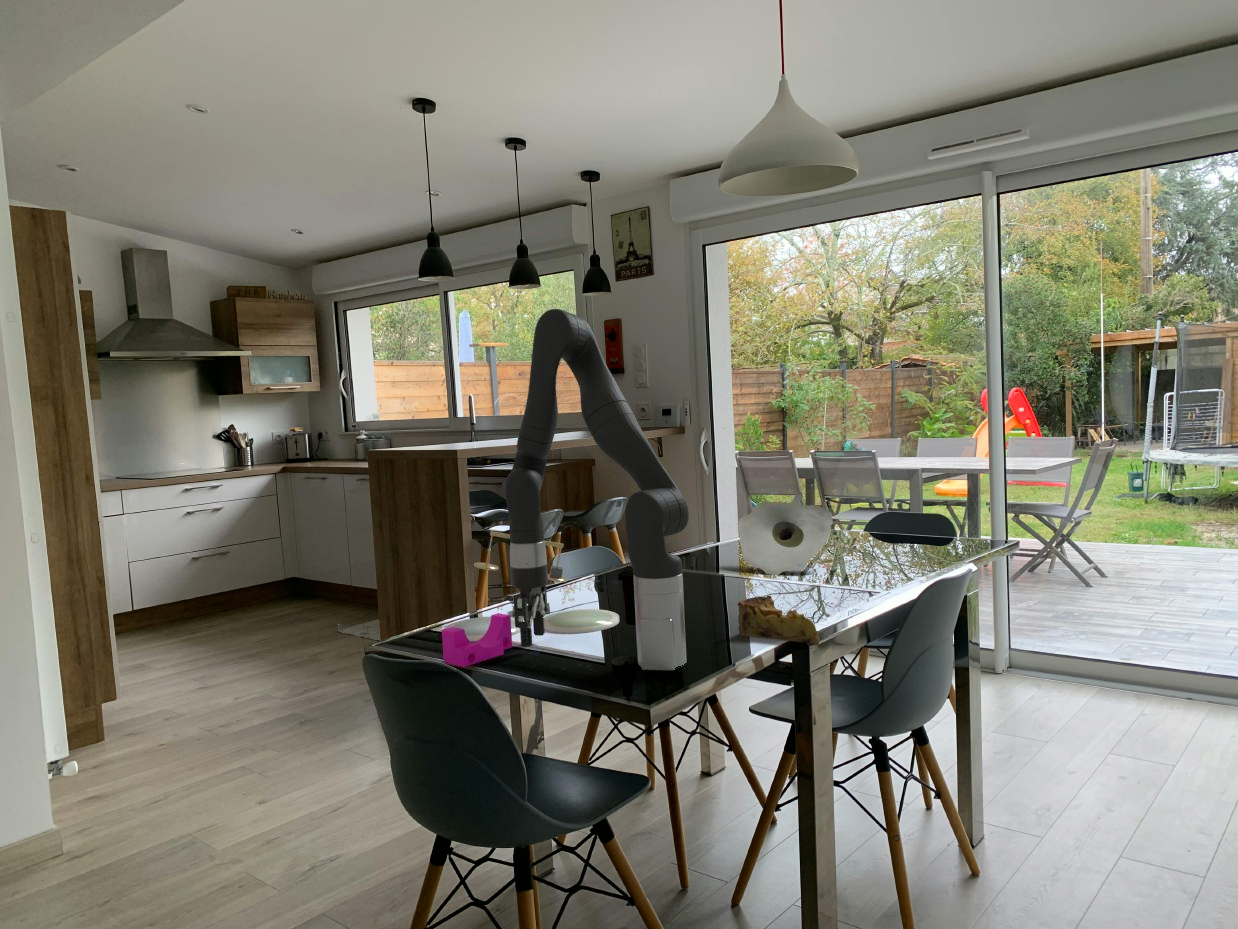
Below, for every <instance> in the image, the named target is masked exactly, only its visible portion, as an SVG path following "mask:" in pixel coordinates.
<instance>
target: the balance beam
mask: <svg viewBox="0 0 1238 929" xmlns="http://www.w3.org/2000/svg"><path fill="white" fill-rule="evenodd" d="M489 536H491V537H490V540H489V546H488V550H487V556H486V562H474V563H473V566H474V568H477V569H480V570H485V571H499V568H500V567H499V566H498V565H496V564H493V563H488V562H489V558H490V552H491V548H492V542H493V537H498V538H502V539H508V540H510V533H505V532H504V533H503V532H497V531H493V530H491V531H490V532H489ZM544 542H545V546H550V547H555V548H559V551H558V556H557V562H556V566H554V565H551V566H550V571H549V573H547V574H548V581H549V582H550V581H551V582H556V583H567V582H568V578H567V577H565V576H563V571H564V569H563V567H561V566H559V564H560V560H561V553H562V549H563V548H564V543H561V542H555V541H549V540H545V539H544Z"/></svg>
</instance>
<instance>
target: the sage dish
mask: <svg viewBox="0 0 1238 929" xmlns="http://www.w3.org/2000/svg"><path fill="white" fill-rule="evenodd" d="M543 618H544V630H545V632H546V631H547V632H550V633H555V634H556V633H557V634H582V633H583V634H585V633H593V632H598V631H599V632H600V631H603V630H608V629H611V628H614V627H615V626H617V625H618V624H619V623H620V615H619V614H618V613H616V612H614V611H610V610H606V609H598V608H597V609H595V608H591V609H590V608H584V609H571V610H570V609H569V610H564V611H559V612H556V613H554V612H553V613H552V614H551V613H550V614H547V615H545V617H543Z"/></svg>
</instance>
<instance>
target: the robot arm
mask: <svg viewBox="0 0 1238 929" xmlns="http://www.w3.org/2000/svg"><path fill="white" fill-rule="evenodd" d="M538 318H539V319H538V321H537V322H536V326H535V328H534V334H533V342H532V353H531V354H532V355H531V363H530V371H529V372H530V373H529V380H528V382H529V383H528V389H527V390H528V391H527V399H526V403H525V404H526V405H525V409H524V413H523V417H522V420H521V425H520V428H519V432H518V436H517V440H516V454H515V457H514V461H513V464H512V469H511V471H510V472H509V474H508V475H507V477H506V479H505V483H504V493H505V499H506V502H505V503H506V507H507V514H508V517H509V524H508V525H509V528H508V529H509V534H510V539H509V541H510V544H509V545H510V546H509V547H510V548H509V562H510V563H509V564H510V580H511V582H510V583H511V586H512V588H515V589H517V590H519V596H518V597H516V598H514V599H513V606H514V615H515V616H514V618H515V627H516V628H520V632H519V633H520V635H519V636H520V645H521V646H522V647H531V646H533V635H534V636H538V637H539V636H544V635H545V632H546V630H544V617H546V614H545V612H547V610H548V608H547V603H548V596H547V585H548V584H549V580H548V574H549V573H548V560H547V559H548V558H547V548H546V545H545V542H544V540H545V530H544V529H545V528H544V520H543V516H542V515H541V501H540V500H541V497H540V494H541V489H542V487H543V482H544V478H545V473H546V469H547V468H546V467H547V462H548V457H549V454H550V452H551V449H552V445H553V441H554V439H555V438H554V437H555V433H556V430H557V425H558V417H559V412H558V408H559V407H558V398H557V397H558V396H557V374H558V369H559V366H560V362H561V360H563V361H564V362H565V363H566V365H567V366H568V367H569V369H570V371H571V372H572V374H573V376H574V378H575V380H576V382H577V384H578V388H579V393H580V395H579V396H580V410H581V414H582V419H583V421H584V423H585V425H586V426H587V429H588V431H589V433H590V435H591V436H592V439H593V440H594V442H595V444H596V445H597V447H598V448H599V449H600V450H601V451H602V452H603V453H604V454H605V455H606V456H608V458H610V459H611V460H612V461H614V462H615V464H617V465H618V466H619V467H621V468H622V469H623V470H624V471H625V472H627V474H629V475H630V476H631V477H632V479H633V480H634V482H635V483H636V485H637V486H638V488H639V491H636V492H634V493H633V494H631V495H630V496H629V498H628V499H627V501H626V504H625V510H624V525H625V535H626V544H627V553H628V554H627V555H628V559H629V561H630V564H631V565H632V569H633V570H632V571H633V587H634V588H633V591H634V594H633V595H634V609H635V610H634V613H635V632H636V633H635V634H636V648H637V649H636V650H637V663H638V666H640V667H641V670H643V671H646V670H647V671H675V670H676V669H677V668H676V667H678V666H681V667H683V666H685V665H686V664H687V645H686V644H687V643H686V624H685V604H684V603H685V602H684V601H685V600H684V599H685V598H684V577H683V562H682V558H680V557H679V556H678V555H675V554H671V553H669V552H668V550H667V547H666V543H665V542H666V541H665V537H669V536H673V535H677V534H679V533H681V532H683V530H685V528H686V527H687V525H688V523H689V520H690V519H689V518H690V516H689V515H690V514H689V508H688V504H687V501H686V500H685V497H684V495H683V494H682V492H681V490H680V489H679V487H678V486H677V484H676V483H675V482H674V480H673V478H672V477H671V476H670V474H669V472H668V471H667V470H666V468H665V467H664V465H663V463H661V460H660V459H659V457H658V456H657V454H656V452H655V451H654V449H653V447H652V446H651V443H650V441H648V438H647V436H646V435H645V433H644V432H643V429H642V428H641V426H640V424H639V422H638V420H637V418H636V416H635V414H634V412H633V410H632V409H631V406H630V405H629V403H628V400H627V399H626V398H625V396H624V394H623V392H622V390H621V389H620V387H619V384H617V382H616V379H615V378H614V376H613V374H612V373H611V371H610V370H609V367H608V366H607V364H606V361H605V359H604V357H603V354H602V351H601V350H600V346H599V344H598V341H597V339H596V336H595V335H594V333H593V330H592V328H591V326H590V324H589V323H588V322H587V320H585V319H584V318H583V317H581V316H579V315H576V314H573V313H571V312H568V311H566V310H564V309H563V310H562V309H559V308H551V309H549V310H546V311H545V312H543V313H542V314H541V316H539V317H538ZM532 626H533V629H532ZM685 663H686V664H685ZM684 664H685V665H684ZM682 665H683V666H682ZM675 668H676V669H675ZM678 668H679V667H678Z"/></svg>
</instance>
